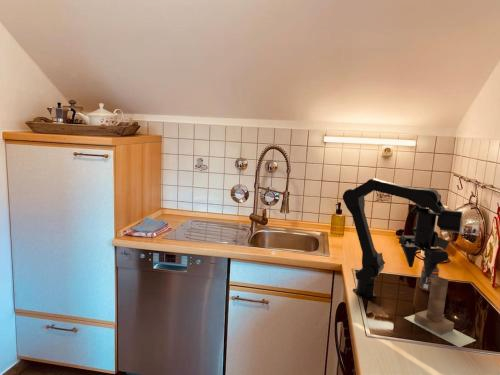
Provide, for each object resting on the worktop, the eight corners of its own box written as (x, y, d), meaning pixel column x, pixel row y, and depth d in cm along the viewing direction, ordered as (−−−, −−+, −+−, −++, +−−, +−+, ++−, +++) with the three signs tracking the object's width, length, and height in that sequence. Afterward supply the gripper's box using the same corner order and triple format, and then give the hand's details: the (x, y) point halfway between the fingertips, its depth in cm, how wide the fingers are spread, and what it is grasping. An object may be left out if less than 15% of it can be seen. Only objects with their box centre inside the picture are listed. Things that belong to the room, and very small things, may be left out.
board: (403, 321, 121) (403, 317, 121) (420, 316, 125) (420, 312, 125) (458, 351, 106) (459, 347, 106) (475, 344, 110) (476, 340, 110)
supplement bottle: (428, 293, 145) (432, 264, 143) (415, 286, 150) (419, 259, 148) (439, 291, 147) (443, 263, 145) (426, 285, 152) (430, 258, 151)
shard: (367, 304, 133) (368, 299, 133) (391, 309, 130) (391, 304, 130) (365, 317, 123) (366, 312, 122) (390, 323, 120) (391, 318, 120)
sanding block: (413, 320, 119) (420, 275, 117) (425, 317, 122) (432, 272, 120) (440, 335, 112) (448, 286, 109) (453, 330, 115) (460, 283, 112)
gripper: (467, 235, 119) (459, 283, 121) (428, 220, 137) (422, 262, 139) (435, 234, 117) (428, 283, 119) (400, 219, 135) (395, 262, 137)
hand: (418, 272), depth 129 cm, fingers open, 9 cm apart
